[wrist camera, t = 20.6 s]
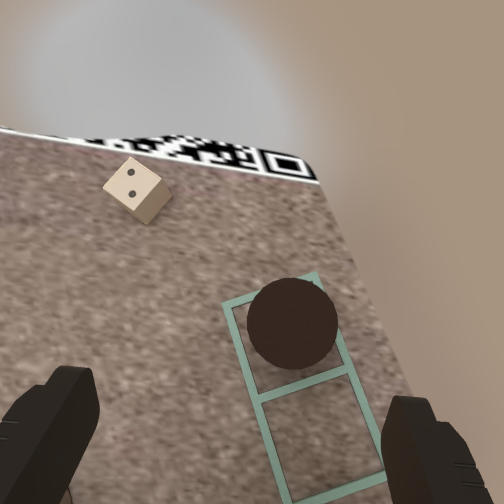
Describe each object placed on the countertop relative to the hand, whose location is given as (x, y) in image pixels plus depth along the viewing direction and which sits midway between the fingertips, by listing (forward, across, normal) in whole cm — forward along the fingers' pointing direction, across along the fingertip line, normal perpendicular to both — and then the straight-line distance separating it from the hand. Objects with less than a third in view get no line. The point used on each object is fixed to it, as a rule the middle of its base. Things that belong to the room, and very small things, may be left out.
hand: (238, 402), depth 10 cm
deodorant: (+24, -3, +18) cm, 30 cm away
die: (+34, +14, +8) cm, 38 cm away
